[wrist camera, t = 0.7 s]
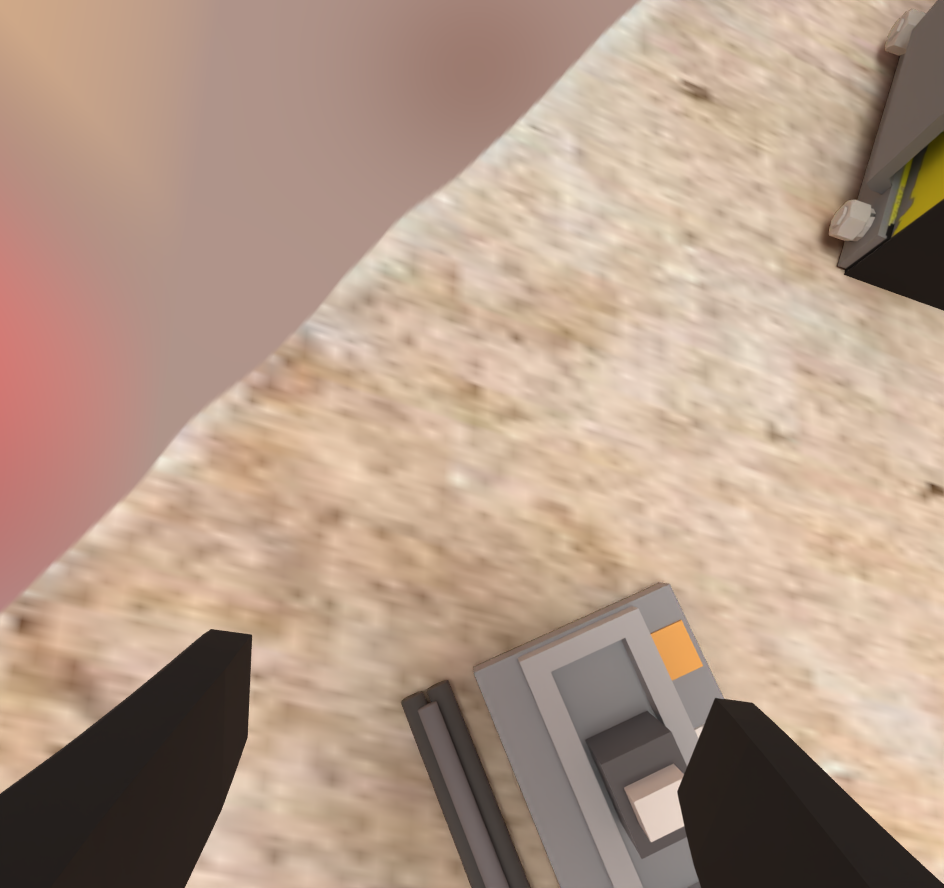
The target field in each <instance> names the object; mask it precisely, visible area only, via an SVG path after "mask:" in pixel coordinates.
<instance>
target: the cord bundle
mask: <svg viewBox="0 0 944 888" xmlns="http://www.w3.org/2000/svg"><path fill="white" fill-rule="evenodd" d="M427 694H428V696H429V699H430V701H431V703H428V704H427V701H426V699H425V696H424V694H423V692H418V693H415V694H413V695H411V696H409V697H407V698H405V699H404V700H403V701H401V704H402V707H403V709H404V712H405V714H406V717H407V720H408V722H409V725H410V728H411V730H412V733H413V735H414V738H415V741H416V743H417V746H418V748H419V751H420V754H421V756H422V759H423V762H424V764H425V767H426V769H427V772H428V775H429V777H430V780H431V783H432V785H433V788H434V790H435V793H436V796H437V798H438V801H439V804H440V806H441V809H442V811H443V814H444V817H445V819H446V822H447V824H448V827H449V830H450V832H451V835H452V838H453V840H454V843H455V845H456V848H457V851H458V853H459V856H460V859H461V861H462V864H463V866H464V869H465V872H466V874H467V877H468V879H469V882H470V885H471V887H472V888H530V885H529V883H528V880H527V878H526V875H525V873H524V870H523V868H522V865H521V863H520V860H519V858H518V855H517V853H516V850H515V847H514V845H513V842H512V840H511V837H510V835H509V832H508V830H507V827H506V825H505V822H504V820H503V817H502V815H501V812H500V810H499V807H498V805H497V802H496V800H495V797H494V795H493V792H492V790H491V787H490V785H489V782H488V780H487V777H486V775H485V772H484V770H483V767H482V764H481V762H480V759H479V757H478V754H477V752H476V749H475V747H474V744H473V742H472V739H471V737H470V734H469V732H468V729H467V727H466V724H465V722H464V719H463V717H462V714H461V712H460V709H459V707H458V704H457V702H456V699H455V697H454V694H453V692H452V689H451V687H450V684H449V681H448V680H445V681H442V682H439V683H437V684H435V685H433V686H431V687H430V688H428V689H427Z"/></svg>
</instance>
